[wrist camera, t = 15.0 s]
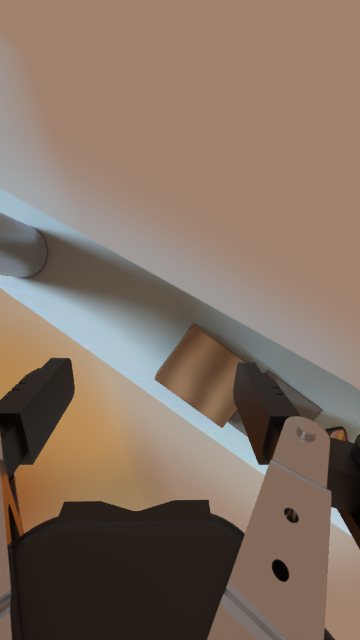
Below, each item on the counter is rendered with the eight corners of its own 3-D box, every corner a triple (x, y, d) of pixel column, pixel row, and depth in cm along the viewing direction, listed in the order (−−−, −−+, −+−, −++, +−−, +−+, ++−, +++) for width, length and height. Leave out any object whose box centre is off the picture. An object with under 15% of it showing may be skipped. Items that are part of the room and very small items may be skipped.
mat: (227, 421, 42) (227, 422, 41) (268, 370, 41) (269, 371, 40) (279, 458, 42) (279, 459, 42) (320, 409, 41) (322, 410, 40)
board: (157, 371, 41) (154, 379, 37) (193, 323, 40) (193, 326, 36) (218, 415, 42) (222, 428, 38) (255, 369, 41) (263, 376, 37)
